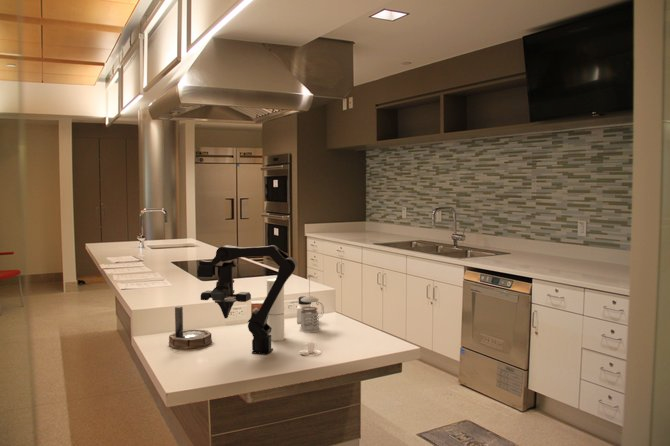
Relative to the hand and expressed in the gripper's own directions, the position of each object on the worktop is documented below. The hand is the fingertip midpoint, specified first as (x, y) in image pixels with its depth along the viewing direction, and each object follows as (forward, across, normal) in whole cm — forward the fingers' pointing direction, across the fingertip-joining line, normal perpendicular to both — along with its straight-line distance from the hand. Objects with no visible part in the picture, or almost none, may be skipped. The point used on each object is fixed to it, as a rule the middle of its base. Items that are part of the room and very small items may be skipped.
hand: (226, 318), depth 208 cm
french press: (+13, +24, +38) cm, 47 cm away
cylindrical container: (+13, +13, +21) cm, 28 cm away
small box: (+13, +2, +32) cm, 35 cm away
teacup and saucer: (+14, +30, +5) cm, 33 cm away
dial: (+12, -19, +7) cm, 23 cm away
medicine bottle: (+13, +17, +52) cm, 56 cm away
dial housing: (+13, -19, +7) cm, 24 cm away
